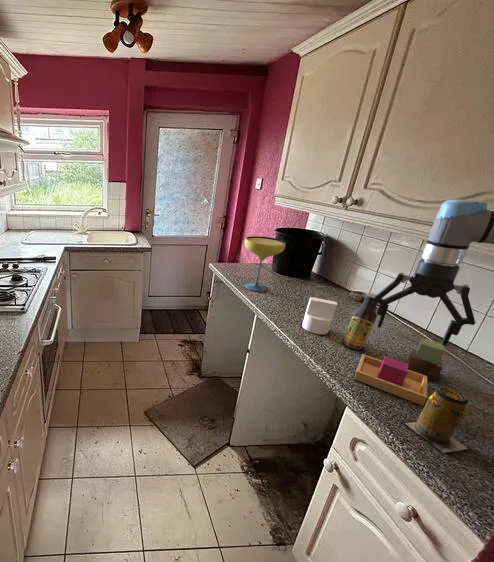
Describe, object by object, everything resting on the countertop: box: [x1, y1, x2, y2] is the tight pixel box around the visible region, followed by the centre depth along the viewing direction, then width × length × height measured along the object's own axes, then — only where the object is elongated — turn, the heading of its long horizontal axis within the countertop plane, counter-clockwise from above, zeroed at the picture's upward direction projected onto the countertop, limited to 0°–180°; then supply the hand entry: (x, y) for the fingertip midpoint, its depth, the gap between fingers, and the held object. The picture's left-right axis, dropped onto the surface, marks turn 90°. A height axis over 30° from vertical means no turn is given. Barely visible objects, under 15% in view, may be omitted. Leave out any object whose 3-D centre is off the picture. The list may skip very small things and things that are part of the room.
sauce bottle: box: [342, 292, 379, 351], centre depth 107 cm, size 6×6×20 cm
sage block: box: [416, 337, 446, 365], centre depth 96 cm, size 5×5×5 cm
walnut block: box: [405, 348, 443, 382], centre depth 97 cm, size 7×7×5 cm
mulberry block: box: [377, 355, 409, 386], centre depth 92 cm, size 6×6×6 cm
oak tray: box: [353, 353, 428, 407], centre depth 93 cm, size 16×13×3 cm
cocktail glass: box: [243, 235, 286, 293], centre depth 155 cm, size 18×18×25 cm
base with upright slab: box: [301, 296, 338, 336], centre depth 120 cm, size 9×9×12 cm
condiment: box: [404, 386, 469, 453], centre depth 72 cm, size 7×8×12 cm
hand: (410, 334), depth 87 cm, fingers open, 13 cm apart
